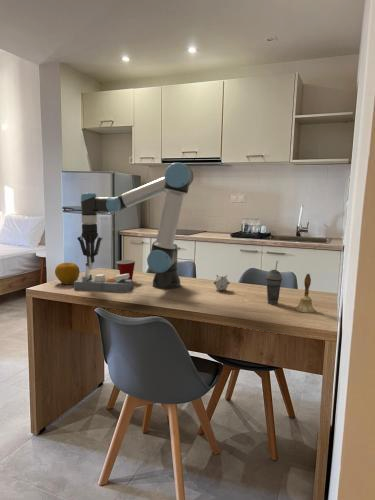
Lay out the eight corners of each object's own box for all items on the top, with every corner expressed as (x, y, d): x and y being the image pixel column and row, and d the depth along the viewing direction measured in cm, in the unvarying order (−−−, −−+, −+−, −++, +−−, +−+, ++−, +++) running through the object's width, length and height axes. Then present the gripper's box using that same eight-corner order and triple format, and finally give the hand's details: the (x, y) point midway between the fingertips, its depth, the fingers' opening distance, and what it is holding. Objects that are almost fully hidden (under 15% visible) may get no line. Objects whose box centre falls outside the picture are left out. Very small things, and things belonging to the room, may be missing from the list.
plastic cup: (119, 279, 210) (118, 258, 209) (137, 279, 210) (137, 259, 208) (114, 283, 200) (114, 262, 198) (133, 284, 199) (133, 262, 197)
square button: (104, 282, 190) (104, 274, 190) (102, 283, 187) (102, 275, 186) (97, 281, 191) (97, 274, 190) (95, 283, 187) (95, 275, 186)
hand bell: (305, 306, 162) (307, 271, 160) (319, 311, 155) (322, 275, 153) (291, 308, 158) (293, 273, 156) (305, 314, 151) (307, 276, 149)
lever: (91, 279, 191) (92, 262, 190) (87, 281, 187) (89, 263, 186) (86, 278, 192) (87, 261, 190) (82, 280, 187) (84, 262, 186)
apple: (66, 287, 190) (65, 266, 188) (50, 284, 196) (49, 263, 195) (85, 282, 201) (84, 262, 199) (69, 279, 207) (68, 260, 206)
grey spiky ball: (217, 297, 188) (207, 280, 191) (230, 290, 192) (220, 274, 194) (222, 293, 180) (212, 275, 182) (236, 285, 184) (225, 268, 186)
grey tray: (132, 287, 192) (132, 275, 191) (127, 291, 182) (127, 279, 181) (82, 284, 195) (81, 273, 195) (74, 289, 186) (73, 277, 185)
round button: (115, 285, 190) (115, 277, 189) (113, 287, 186) (113, 279, 186) (108, 285, 190) (108, 277, 190) (106, 286, 187) (106, 278, 186)
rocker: (129, 276, 188) (128, 273, 188) (127, 278, 184) (126, 274, 184) (118, 278, 189) (117, 275, 189) (115, 280, 185) (114, 276, 185)
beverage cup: (269, 300, 171) (271, 258, 168) (283, 303, 167) (285, 260, 164) (261, 303, 166) (263, 260, 163) (276, 306, 161) (278, 262, 158)
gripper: (103, 223, 188) (105, 267, 191) (80, 222, 189) (82, 267, 193) (98, 224, 180) (100, 270, 184) (74, 223, 182) (76, 269, 185)
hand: (90, 268), depth 188 cm, fingers closed
